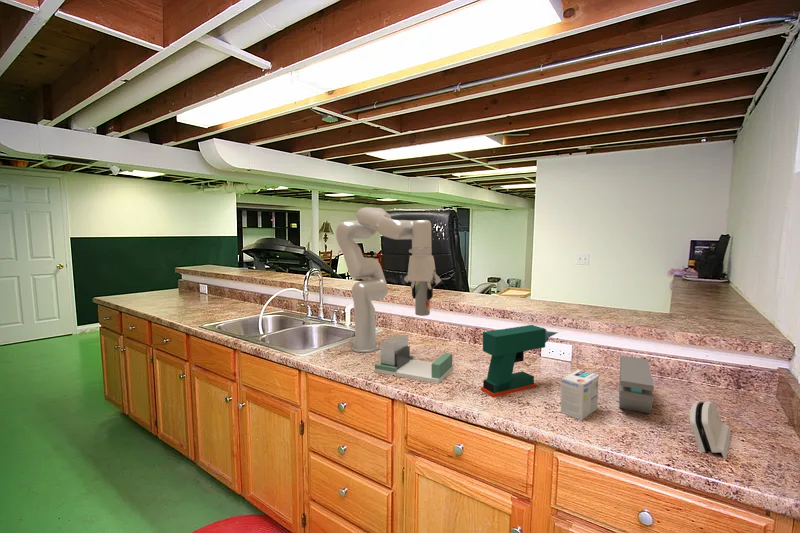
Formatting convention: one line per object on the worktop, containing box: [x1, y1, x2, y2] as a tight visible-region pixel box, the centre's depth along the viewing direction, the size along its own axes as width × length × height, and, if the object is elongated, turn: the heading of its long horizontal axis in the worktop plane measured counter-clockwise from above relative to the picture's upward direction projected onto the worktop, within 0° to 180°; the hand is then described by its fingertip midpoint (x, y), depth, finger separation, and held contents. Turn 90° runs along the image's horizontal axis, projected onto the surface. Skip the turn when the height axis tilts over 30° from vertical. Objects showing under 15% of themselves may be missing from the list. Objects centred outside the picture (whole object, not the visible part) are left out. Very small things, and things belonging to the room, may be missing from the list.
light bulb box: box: [560, 369, 600, 421], centre depth 113 cm, size 11×7×11 cm, turn 131°
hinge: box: [689, 400, 732, 460], centre depth 97 cm, size 17×5×10 cm, turn 136°
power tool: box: [480, 324, 559, 398], centre depth 132 cm, size 32×7×20 cm, turn 115°
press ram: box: [379, 333, 411, 370], centre depth 150 cm, size 7×12×10 cm, turn 153°
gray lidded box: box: [618, 355, 655, 414], centre depth 118 cm, size 25×8×11 cm, turn 150°
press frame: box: [374, 352, 454, 385], centre depth 147 cm, size 26×16×6 cm, turn 63°
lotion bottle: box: [414, 281, 431, 317], centre depth 148 cm, size 6×6×20 cm
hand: (422, 298), depth 149 cm, fingers closed on lotion bottle, 5 cm apart
